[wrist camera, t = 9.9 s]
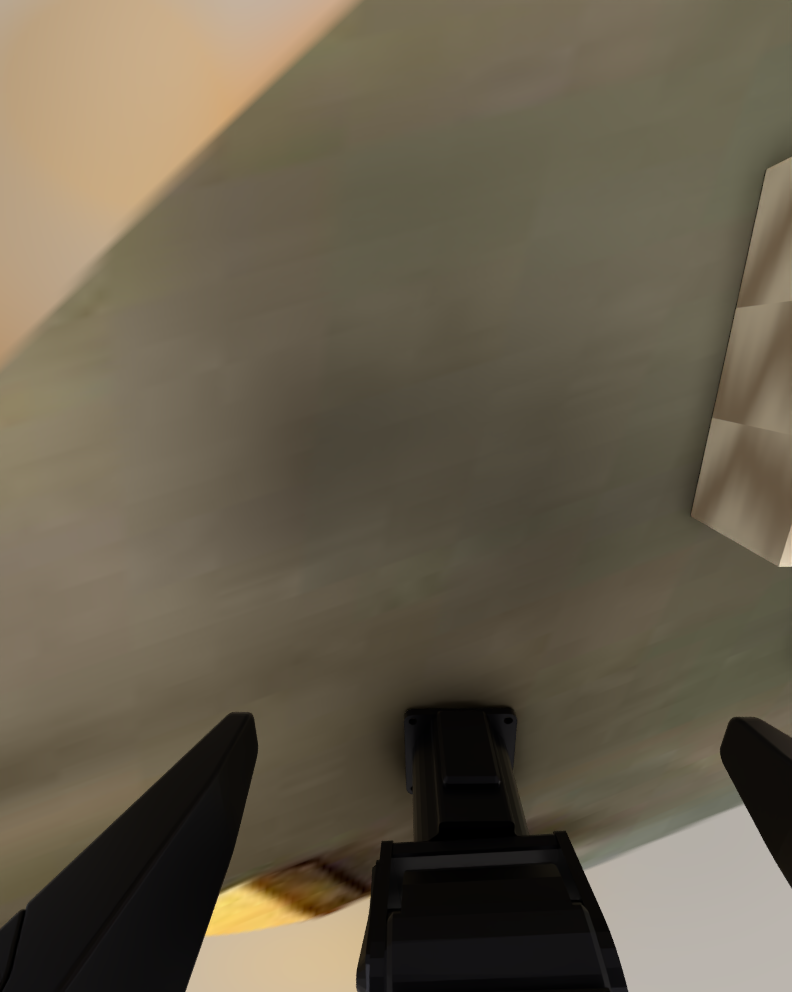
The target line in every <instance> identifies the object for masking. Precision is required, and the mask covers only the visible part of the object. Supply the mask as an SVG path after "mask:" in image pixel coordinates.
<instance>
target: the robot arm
mask: <svg viewBox="0 0 792 992" xmlns="http://www.w3.org/2000/svg"><path fill="white" fill-rule="evenodd" d="M507 717H509V718H507ZM411 718H415V719H411ZM516 728H517V717H516V714H515V712H514V710H512V709H509V708H482V709H411V710H408V711H406V713H405V715H404V730H405V759H406V788H407V791H408V792H409V793H410V794H413V826H414V842H401V843H393V841H382V843H381V852H380V860H377V861H376V865H375V866H374V867H373V868H372V884H371V899H370V909H369V916H368V921H367V926H366V930H365V935H364V939H363V944H362V948H361V954H360V958H359V962H358V967H357V974H356V988H357V992H628V989H627V985H626V981H625V977H624V974H623V970H622V966H621V963H620V960H619V957H618V954H617V950H616V947H615V944H614V942H613V939H612V936H611V933H610V931H609V928H608V926H607V923H606V921H605V919H604V916H603V914H602V912H601V909H600V907H599V905H598V902H597V900H596V898H595V896H594V893H593V891H592V889H591V887H590V884H589V882H588V880H587V878H586V875H585V873H584V871H583V869H582V866H581V864H580V862H579V860H578V857H577V855H576V853H575V851H574V848H573V846H572V844H571V842H570V840H569V837H568V835H567V833H566V831H554V832H553V834H541V835H529V832H528V828H527V824H526V820H525V816H524V812H523V809H522V805H521V801H520V797H519V793H518V789H517V785H516V782H515V778H514V774H513V764H514V752H515V740H516ZM257 754H258V741H257V734H256V728H255V721H254V717H253V715H252V713H249V712H232V713H230V714H228V715H227V716H226V717H225V718H224V719H223V720H221V721H220V722H219V723H218V724H217V725H216V726H215V727H214V728H213V729H212V730H211V731H210V732H209V733H208V734H207V735H206V736H204V737H203V738H202V739H201V740H200V741H199V742H198V743H197V744H196V745H195V746H194V747H193V748H192V749H191V750H190V751H189V752H188V753H186V754H185V755H184V756H183V757H182V758H181V759H180V760H179V761H178V762H177V763H176V764H175V765H174V766H173V767H172V768H171V769H169V770H168V771H167V772H166V773H165V774H164V775H163V776H162V777H161V778H160V779H159V780H158V781H157V782H156V783H155V784H154V785H153V786H151V787H150V788H149V789H148V790H147V791H146V792H145V793H144V794H143V795H142V796H141V797H140V798H139V799H138V800H137V801H136V802H134V803H133V804H132V805H131V806H130V807H129V808H128V809H127V810H126V811H125V812H124V813H123V814H122V815H121V816H120V817H119V818H118V819H116V820H115V821H114V822H113V823H112V824H111V825H110V826H109V827H108V828H107V829H106V830H105V831H104V832H103V833H102V834H101V835H99V836H98V837H97V838H96V839H95V840H94V841H93V842H92V843H91V844H90V845H89V846H88V847H87V848H86V849H85V850H84V851H83V852H81V853H80V854H79V855H78V856H77V857H76V858H75V859H74V860H73V861H72V862H71V863H70V864H69V865H68V866H67V867H66V868H64V869H63V870H62V871H61V872H60V873H59V874H58V875H57V876H56V877H55V878H54V879H53V880H52V881H51V882H50V883H49V884H48V885H46V886H45V887H44V888H43V889H42V890H41V891H40V892H39V893H38V894H37V895H36V896H35V897H34V898H33V899H32V900H31V901H29V902H28V904H27V906H26V909H22V910H20V911H19V912H18V913H16V914H15V915H14V916H13V917H12V918H11V919H10V920H9V921H8V922H7V923H6V924H5V925H4V926H3V927H2V928H1V929H0V992H185V991H186V988H187V985H188V983H189V980H190V977H191V974H192V971H193V968H194V965H195V962H196V960H197V957H198V954H199V951H200V948H201V945H202V942H203V939H204V936H205V933H206V931H207V928H208V925H209V922H210V919H211V916H212V913H213V910H214V907H215V904H216V902H217V899H218V896H219V893H220V890H221V887H222V884H223V881H224V878H225V875H226V873H227V870H228V867H229V864H230V860H231V857H232V854H233V851H234V847H235V843H236V840H237V836H238V832H239V828H240V824H241V820H242V816H243V812H244V808H245V804H246V799H247V795H248V791H249V787H250V783H251V779H252V775H253V771H254V767H255V763H256V759H257ZM720 755H721V759H722V762H723V764H724V766H725V768H726V770H727V772H728V774H729V776H730V778H731V780H732V782H733V783H734V785H735V787H736V789H737V791H738V793H739V795H740V797H741V799H742V800H743V802H744V804H745V806H746V808H747V810H748V812H749V813H750V815H751V817H752V819H753V821H754V823H755V825H756V827H757V828H758V830H759V832H760V834H761V836H762V838H763V840H764V842H765V844H766V845H767V847H768V849H769V851H770V853H771V854H772V856H773V858H774V860H775V862H776V863H777V864H778V867H779V868H780V870H781V871H782V873H783V875H784V877H785V878H786V880H787V881H788V883H789V885H790V886H791V888H792V738H791V737H790V736H788V735H786V734H785V733H783V732H781V731H780V730H778V729H776V728H775V727H773V726H771V725H770V724H768V723H766V722H765V721H763V720H761V719H759V718H755V717H733V718H732V719H731V720H730V721H729V723H728V726H727V729H726V732H725V735H724V738H723V741H722V744H721V747H720Z"/></svg>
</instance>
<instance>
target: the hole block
mask: <svg viewBox="0 0 792 992" xmlns="http://www.w3.org/2000/svg"><path fill="white" fill-rule="evenodd" d="M691 517H693V518H695V519H697V520H698V521H700V522H702V523H704V524H705V525H707V526H709V527H711V528H712V529H714V530H716V531H717V532H719V533H721V534H723V535H724V536H726V537H728V538H730V539H731V540H733V541H735V542H737V543H738V544H740V545H742V546H744V547H745V548H747V549H749V550H750V551H752V552H754V553H756V554H757V555H759V556H761V557H763V558H764V559H766V560H768V561H770V562H771V563H773V564H775V565H777V566H778V567H790V566H792V157H790V158H788V159H786V160H784V161H782V162H780V163H778V164H776V165H774V166H772V167H770V168H768V169H767V170H766V174H765V179H764V183H763V188H762V193H761V197H760V202H759V206H758V211H757V215H756V220H755V225H754V229H753V234H752V238H751V243H750V247H749V252H748V257H747V261H746V266H745V270H744V275H743V279H742V284H741V288H740V293H739V298H738V302H737V307H736V311H735V316H734V320H733V325H732V330H731V334H730V339H729V343H728V348H727V352H726V357H725V362H724V366H723V371H722V375H721V380H720V384H719V389H718V394H717V398H716V403H715V407H714V412H713V416H712V421H711V426H710V430H709V435H708V439H707V444H706V448H705V453H704V458H703V462H702V467H701V471H700V476H699V480H698V485H697V489H696V494H695V499H694V503H693V508H692V512H691Z"/></svg>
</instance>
